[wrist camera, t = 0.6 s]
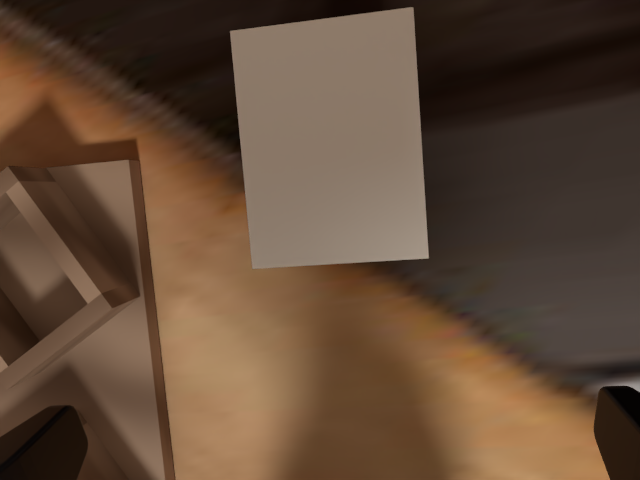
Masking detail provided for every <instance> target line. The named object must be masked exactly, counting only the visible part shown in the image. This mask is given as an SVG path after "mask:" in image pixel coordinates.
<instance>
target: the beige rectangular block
mask: <svg viewBox="0 0 640 480" xmlns="http://www.w3.org/2000/svg"><path fill="white" fill-rule="evenodd" d="M230 36H231V46H232V57H233V68H234V78H235V89H236V100H237V110H238V121H239V132H240V142H241V153H242V164H243V175H244V185H245V196H246V207H247V217H248V228H249V239H250V249H251V260H252V269H261V268H277V267H294V266H310V265H327V264H343V263H360V262H376V261H393V260H409V259H426V258H429V254H428V238H427V222H426V205H425V189H424V173H423V157H422V141H421V125H420V108H419V92H418V76H417V60H416V44H415V27H414V11H413V7H410V8H402V9H395V10H387V11H379V12H372V13H364V14H357V15H349V16H341V17H334V18H326V19H319V20H311V21H303V22H296V23H288V24H281V25H273V26H265V27H258V28H250V29H242V30H235V31H230Z"/></svg>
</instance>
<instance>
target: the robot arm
mask: <svg viewBox="0 0 640 480" xmlns="http://www.w3.org/2000/svg"><path fill="white" fill-rule="evenodd" d="M594 435H595V439H596V442H597V445H598V448H599V450H600V453H601V456H602V459H603V461H604V464H605V467H606V470H607V472H608V475H609V478H610V480H640V392H638V391H636V390H635V389H633V388H631V387H629V386H605V387H603V388H601V389H600V391H599V393H598V399H597V406H596V413H595V420H594ZM87 450H88V438H87V435H86V432H85V430H84V427H83V425H82V422H81V419H80V417H79V414H78V412H77V410H76V408H75V407H74V406H72V405H52V406H48V407H46V408H45V409H43V410H42V411H40V412H38V413H37V414H35V415H34V416H32V417H31V418H29V419H27V420H26V421H24V422H23V423H21V424H20V425H18V426H16V427H15V428H13V429H12V430H10V431H8V432H7V433H5V434H4V435H2V436H1V437H0V480H77V479H78V476H79V473H80V471H81V468H82V465H83V462H84V460H85V457H86V454H87Z"/></svg>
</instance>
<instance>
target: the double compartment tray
mask: <svg viewBox="0 0 640 480" xmlns="http://www.w3.org/2000/svg"><path fill="white" fill-rule="evenodd" d="M52 405H72V406H74V407H75V408H76V410H77V412H78V414H79V417H80V419H81V422H82V425H83V427H84V430H85V432H86V435H87V438H88V450H87V454H86V457H85V460H84V462H83V465H82V468H81V471H80V473H79V476H78V479H77V480H175V476H174V467H173V458H172V449H171V440H170V431H169V422H168V414H167V405H166V396H165V387H164V378H163V369H162V360H161V351H160V342H159V334H158V325H157V316H156V307H155V298H154V289H153V280H152V271H151V262H150V254H149V245H148V236H147V227H146V218H145V209H144V200H143V191H142V182H141V173H140V165H139V161H135V160H121V161H111V162H101V163H90V164H80V165H70V166H60V167H49V168H32V167H15V166H7V167H6V168H5V169H4V170H3V171H1V172H0V437H1V436H2V435H4V434H5V433H7V432H8V431H10V430H12V429H13V428H15V427H16V426H18V425H20V424H21V423H23V422H24V421H26V420H27V419H29V418H31V417H32V416H34V415H35V414H37V413H38V412H40V411H42V410H43V409H45V408H46V407H48V406H52Z"/></svg>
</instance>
